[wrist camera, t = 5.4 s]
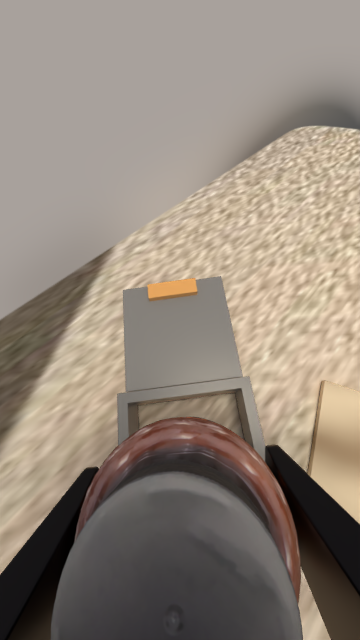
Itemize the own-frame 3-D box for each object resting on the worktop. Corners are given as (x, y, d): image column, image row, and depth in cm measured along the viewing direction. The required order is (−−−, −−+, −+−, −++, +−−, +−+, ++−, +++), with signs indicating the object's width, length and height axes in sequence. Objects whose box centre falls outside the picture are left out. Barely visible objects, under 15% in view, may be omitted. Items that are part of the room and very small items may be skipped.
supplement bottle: (156, 408, 16) (71, 381, 5) (249, 429, 15) (370, 448, 4) (130, 519, 13) (-107, 856, 3) (237, 552, 13) (425, 1187, 2)
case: (272, 525, 18) (288, 548, 15) (134, 541, 18) (120, 567, 15) (220, 281, 26) (223, 262, 23) (125, 294, 27) (115, 277, 23)
